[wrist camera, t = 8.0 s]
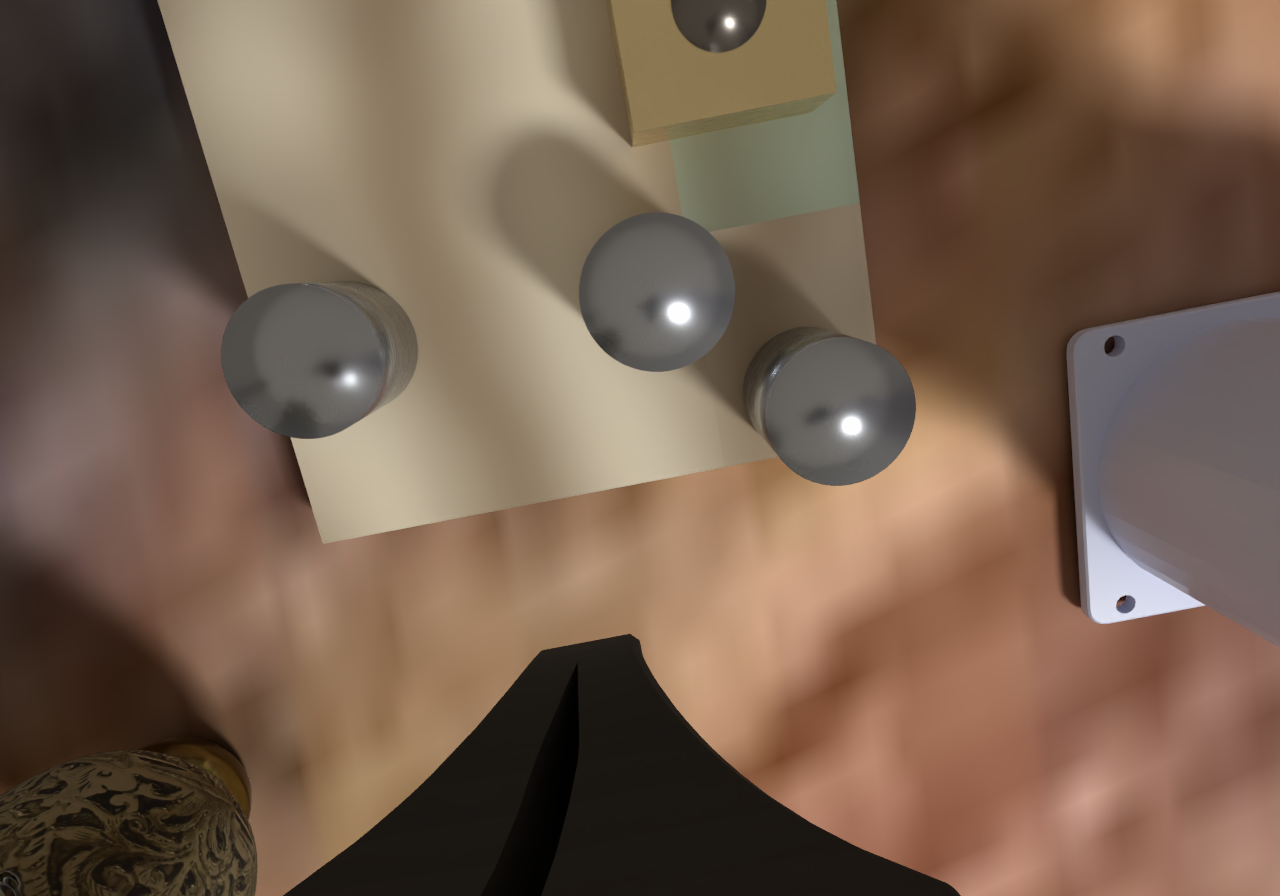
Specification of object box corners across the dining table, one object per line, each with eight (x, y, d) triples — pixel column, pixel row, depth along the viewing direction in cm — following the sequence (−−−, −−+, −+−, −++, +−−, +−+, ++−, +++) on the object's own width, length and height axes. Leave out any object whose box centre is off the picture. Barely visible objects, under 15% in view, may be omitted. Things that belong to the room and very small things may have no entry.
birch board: (760, -488, 15) (772, -549, 14) (870, 426, 20) (886, 436, 19) (80, -346, 16) (37, -396, 14) (340, 527, 20) (323, 543, 19)
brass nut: (785, -92, 16) (809, -143, 14) (811, 112, 17) (837, 91, 15) (596, -54, 16) (593, -99, 14) (632, 147, 17) (634, 132, 15)
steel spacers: (780, -352, 15) (820, -503, 12) (874, 438, 19) (922, 470, 16) (118, -215, 15) (-2, -332, 12) (342, 540, 19) (292, 590, 16)
